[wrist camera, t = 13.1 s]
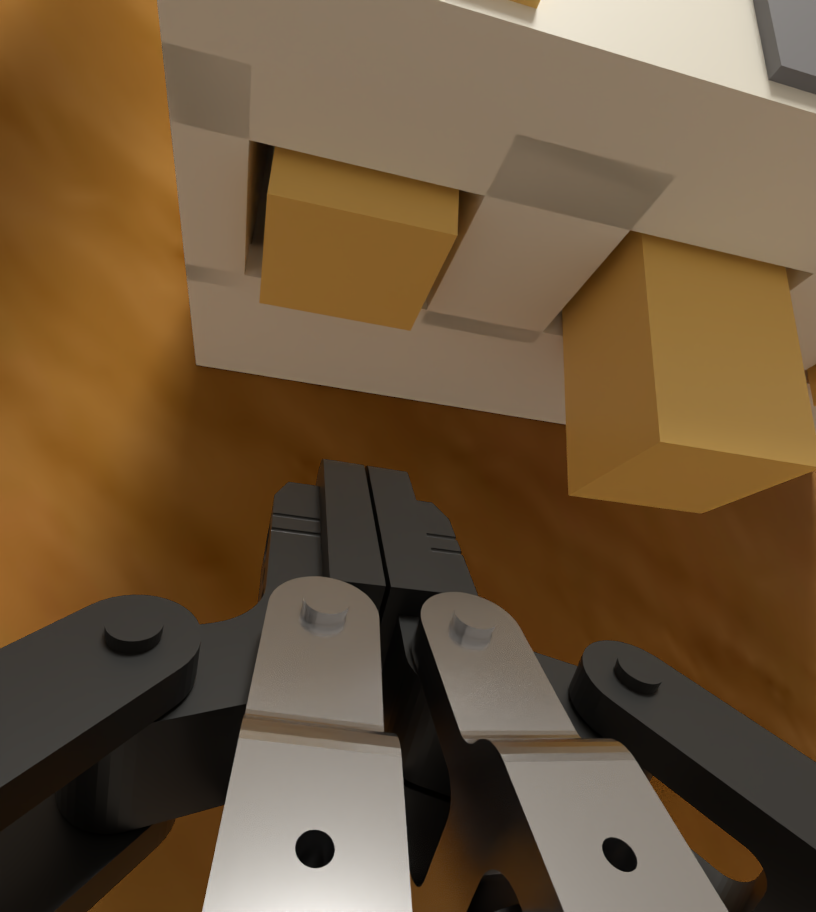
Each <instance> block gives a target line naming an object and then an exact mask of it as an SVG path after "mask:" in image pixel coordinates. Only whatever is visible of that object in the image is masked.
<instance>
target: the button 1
mask: <svg viewBox="0 0 816 912" xmlns="http://www.w3.org/2000/svg"><path fill="white" fill-rule="evenodd" d="M458 205H459V189H454V188H450V187H446V186H442V185H437V184H433V183H429V182H425V181H420V180H416V179H412V178H408V177H404V176H399V175H395V174H391V173H387V172H382V171H378V170H374V169H370V168H366V167H361V166H357V165H353V164H349V163H344V162H340V161H336V160H332V159H328V158H323V157H319V156H315V155H311V154H306V153H302V152H298V151H294V150H290V149H285V148H281V147H277V146H275V149H274V155H273V161H272V167H271V173H270V179H269V185H268V191H267V203H266V217H265V230H264V244H263V258H262V272H261V286H260V300H259V303H262V304H268V305H273V306H279V307H284V308H290V309H295V310H300V311H306V312H311V313H317V314H322V315H327V316H333V317H338V318H344V319H349V320H354V321H360V322H365V323H371V324H376V325H381V326H387V327H392V328H398V329H403V330H408V331H411V329H412V327H413V324H414V322H415V320H416V318H417V316H418V314H419V312H420V310H421V308H422V306H423V304H424V302H425V300H426V298H427V296H428V294H429V292H430V290H431V288H432V286H433V284H434V282H435V280H436V278H437V276H438V274H439V272H440V270H441V268H442V266H443V264H444V262H445V260H446V258H447V256H448V254H449V252H450V250H451V248H452V246H453V244H454V242H455V240H456V238H457V235H458Z"/></svg>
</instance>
